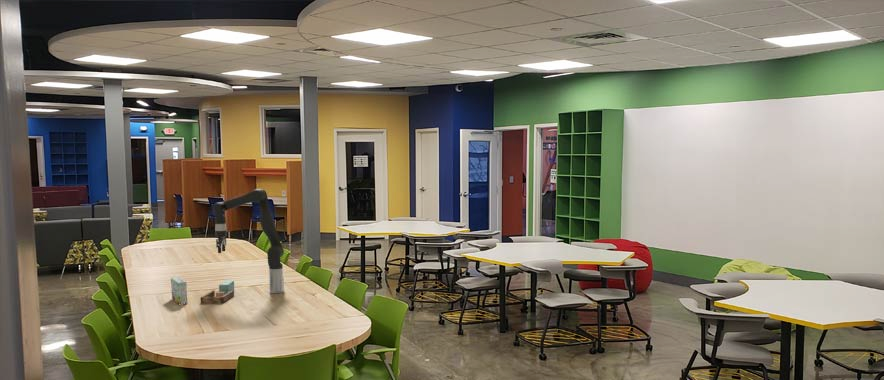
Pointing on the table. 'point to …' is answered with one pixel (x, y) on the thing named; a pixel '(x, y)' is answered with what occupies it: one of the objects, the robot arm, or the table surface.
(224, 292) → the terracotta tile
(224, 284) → the block
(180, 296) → the snack box
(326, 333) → the table surface
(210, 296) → the brown u-shaped block
